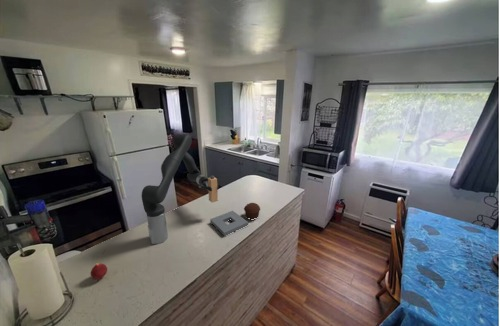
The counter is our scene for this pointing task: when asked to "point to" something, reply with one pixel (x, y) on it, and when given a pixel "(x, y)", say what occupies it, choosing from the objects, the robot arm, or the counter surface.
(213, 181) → the plug
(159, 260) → the counter surface
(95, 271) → the onion
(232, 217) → the socket
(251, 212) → the muffin
